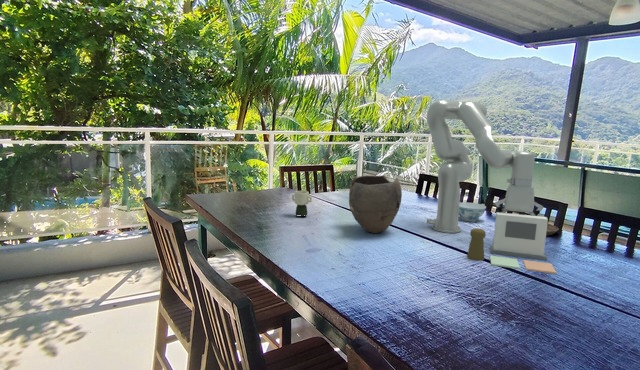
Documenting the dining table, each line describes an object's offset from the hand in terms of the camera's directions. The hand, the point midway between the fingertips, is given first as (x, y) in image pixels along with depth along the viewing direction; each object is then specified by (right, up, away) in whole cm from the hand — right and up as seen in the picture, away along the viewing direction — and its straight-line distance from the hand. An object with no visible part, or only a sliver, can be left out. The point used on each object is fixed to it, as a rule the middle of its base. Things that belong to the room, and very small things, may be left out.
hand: (516, 224), depth 155 cm
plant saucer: (+21, -6, +26) cm, 34 cm away
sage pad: (-13, -12, -17) cm, 25 cm away
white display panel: (-4, -11, -8) cm, 14 cm away
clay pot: (-56, -5, +18) cm, 59 cm away
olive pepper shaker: (-22, -11, -13) cm, 28 cm away
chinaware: (-2, -2, +44) cm, 45 cm away
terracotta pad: (-3, -13, -21) cm, 25 cm away
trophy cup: (-89, -1, +43) cm, 99 cm away
